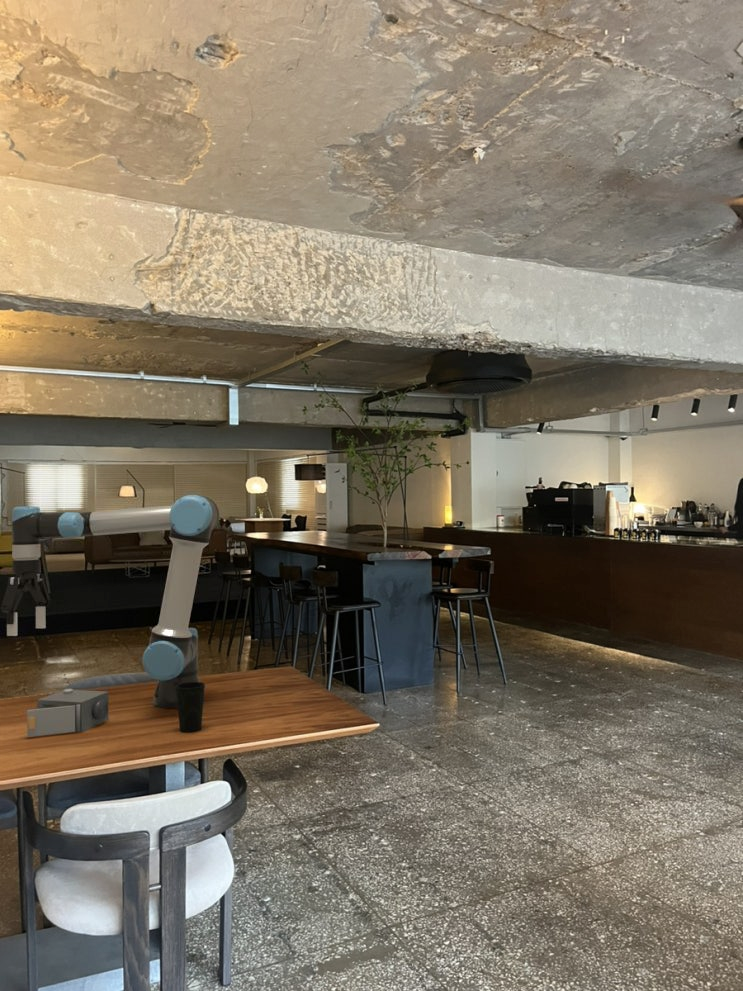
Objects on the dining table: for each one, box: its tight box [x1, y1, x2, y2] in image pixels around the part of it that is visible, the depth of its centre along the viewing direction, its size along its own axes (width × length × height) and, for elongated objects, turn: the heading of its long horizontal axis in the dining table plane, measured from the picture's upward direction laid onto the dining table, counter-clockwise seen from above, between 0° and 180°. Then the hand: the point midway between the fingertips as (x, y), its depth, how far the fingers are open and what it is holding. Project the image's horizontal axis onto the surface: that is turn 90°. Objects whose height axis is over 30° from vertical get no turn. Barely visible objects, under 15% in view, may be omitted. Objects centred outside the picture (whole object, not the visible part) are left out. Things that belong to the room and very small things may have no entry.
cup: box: [176, 681, 206, 734], centre depth 195 cm, size 8×8×12 cm
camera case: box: [36, 688, 109, 733], centre depth 201 cm, size 16×13×9 cm
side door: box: [26, 705, 76, 738], centre depth 191 cm, size 12×1×7 cm, turn 111°
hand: (26, 631), depth 210 cm, fingers open, 13 cm apart
